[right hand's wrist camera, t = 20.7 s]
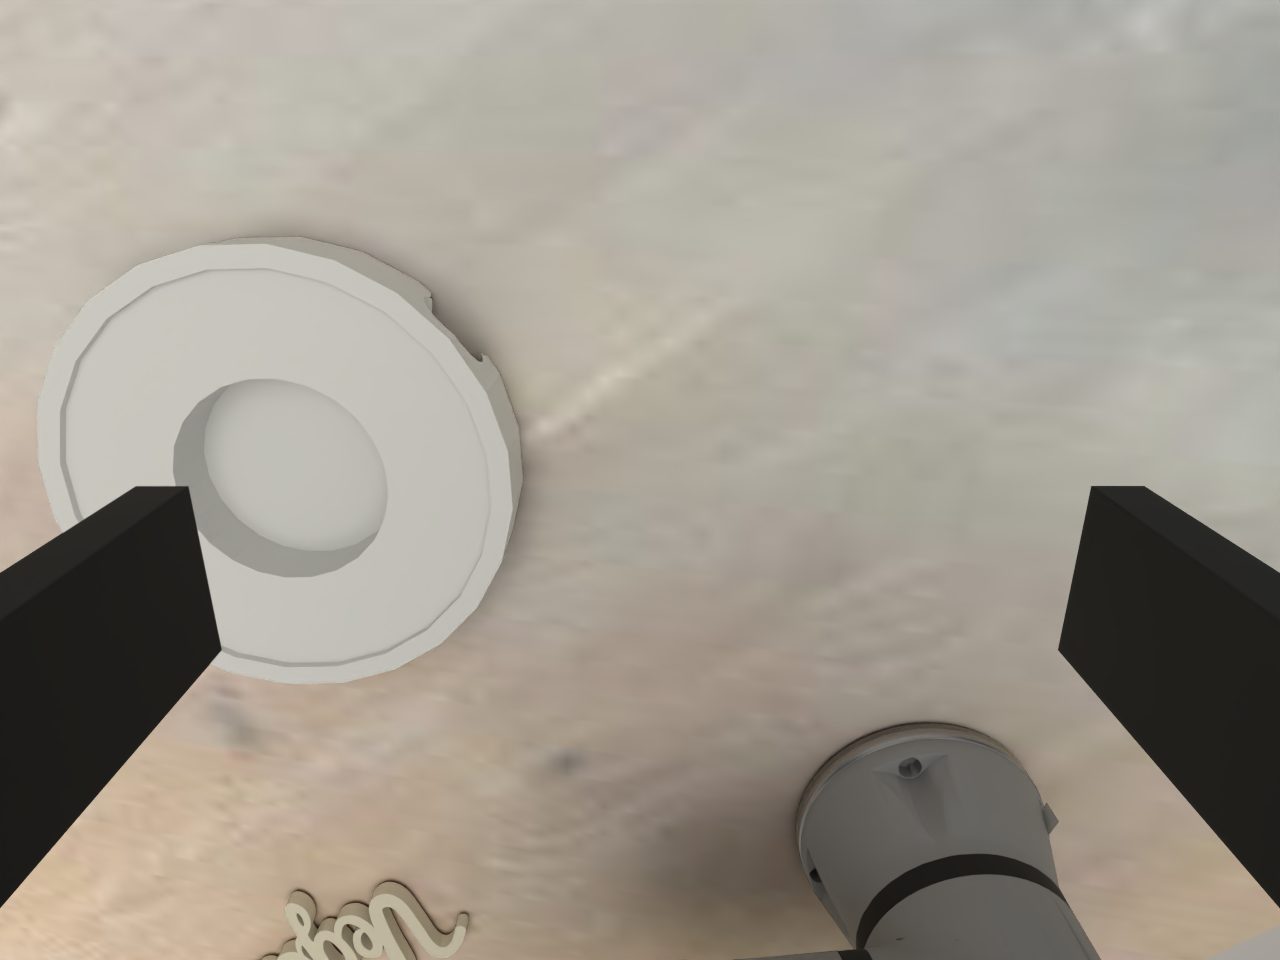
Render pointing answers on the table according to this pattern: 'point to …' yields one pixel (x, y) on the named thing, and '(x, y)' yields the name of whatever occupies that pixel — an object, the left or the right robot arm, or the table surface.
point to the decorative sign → (366, 929)
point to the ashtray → (293, 447)
